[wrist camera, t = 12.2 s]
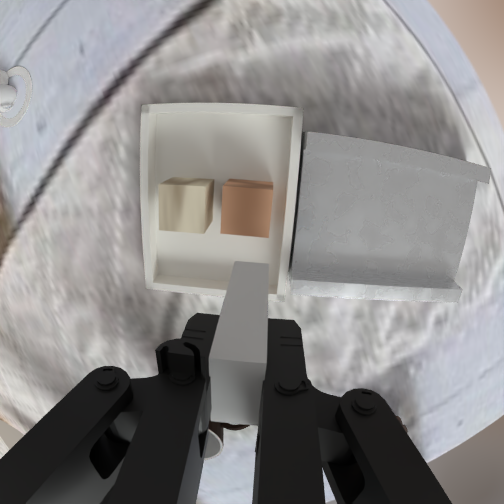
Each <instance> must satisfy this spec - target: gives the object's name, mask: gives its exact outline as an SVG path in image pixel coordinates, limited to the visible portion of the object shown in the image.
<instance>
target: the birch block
mask: <svg viewBox="0 0 504 504" xmlns="http://www.w3.org/2000/svg"><path fill="white" fill-rule="evenodd" d="M213 200H214V179H202V178H182V177H172V178H170V179H168V180H166V181H164V182H162V183H160V184H159V230H162V231H174V232H187V233H199V234H204V233H205V232H206V230H207V229H208V227H209V226H210V224H211V223H212V221H213Z"/></svg>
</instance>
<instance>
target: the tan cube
mask: <svg viewBox="0 0 504 504" xmlns="http://www.w3.org/2000/svg"><path fill="white" fill-rule="evenodd" d="M272 200H273V182H265V181H254V180H242V179H229V180H228V181H227V182H226V183H225V184H224V185H223V190H222V209H221V229H220V234H230V235H241V236H252V237H263V238H269V230H270V220H271V210H272Z"/></svg>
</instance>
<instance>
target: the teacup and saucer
mask: <svg viewBox="0 0 504 504" xmlns="http://www.w3.org/2000/svg"><path fill="white" fill-rule="evenodd" d="M13 75H20V76H21V77H22V78H23V79H24V81H25V84H26V97H25V101H24V104H23V106H22V108H21V110H20V111H19V113H18V114H17V115H16V116H15V117H13V118H10V119H7V118H5V117H3V116H2V114H1V112H8V111H9V110H11V108H12V107H13V105H14V102H15V101H16V99H17V90H16V89H15V88H14V87H13V86H10V85H8V79H9V78H10V77H11V76H13ZM31 95H32V80H31V76H30V74H29V72H28V71H27V70H26V69H25V68H24V67H21V66H17V67H13V68H11V69H10V70H8V71H7V72H5V71H4V70H0V111H1V112H0V125H1V126H3V127H5V128H10V127H13V126H15V125H16V124H17V123H19V122H20V120H21V119H22V118H23V116H24V115H25V113H26V111H27V109H28V107H29V104H30V100H31ZM10 105H11V107H10V108H7V109H5V108H4V107H8V106H10Z"/></svg>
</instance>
